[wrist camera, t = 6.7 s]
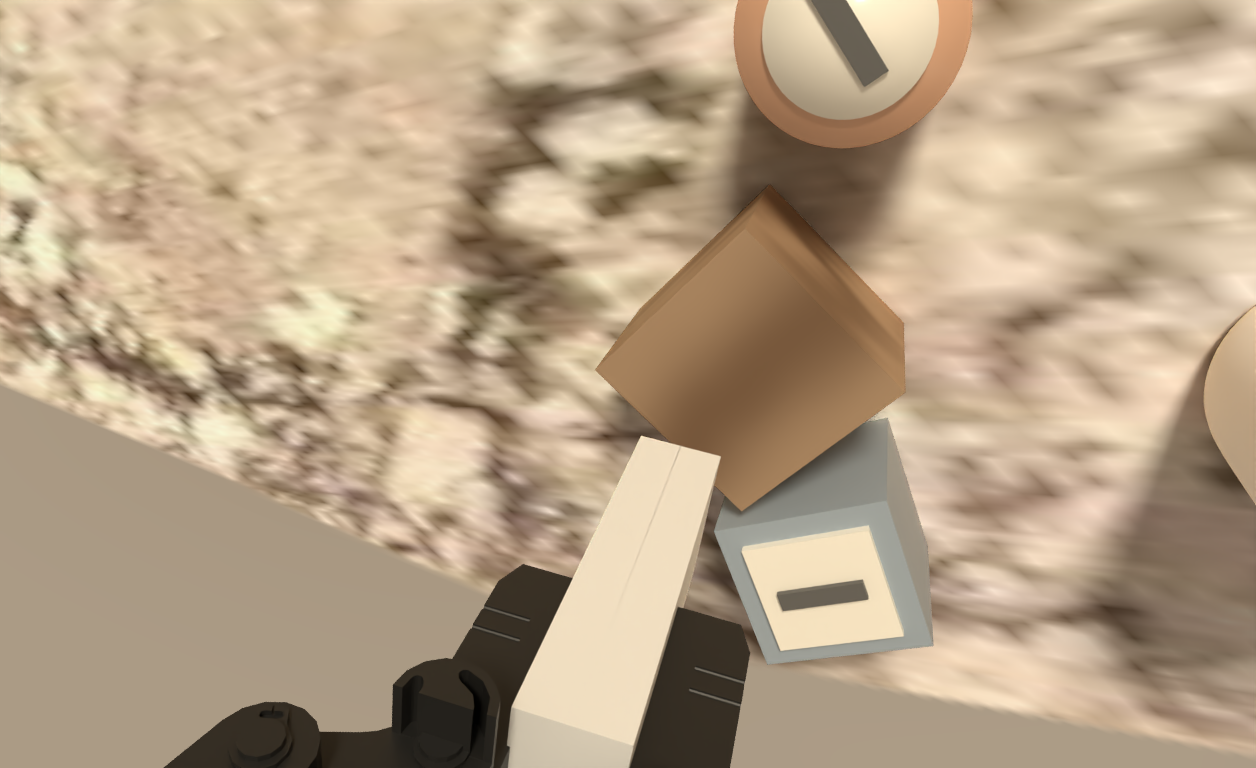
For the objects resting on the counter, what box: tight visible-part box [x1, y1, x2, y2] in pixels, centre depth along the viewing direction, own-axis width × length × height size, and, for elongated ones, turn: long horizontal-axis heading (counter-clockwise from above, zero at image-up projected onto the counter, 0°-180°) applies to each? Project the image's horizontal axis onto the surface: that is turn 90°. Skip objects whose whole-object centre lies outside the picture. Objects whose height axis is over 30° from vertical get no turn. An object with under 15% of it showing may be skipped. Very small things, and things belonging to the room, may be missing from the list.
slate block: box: [714, 418, 933, 665], centre depth 33 cm, size 6×6×6 cm
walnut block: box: [595, 184, 905, 511], centre depth 30 cm, size 7×7×6 cm
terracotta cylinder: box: [734, 0, 973, 148], centre depth 25 cm, size 6×6×6 cm
